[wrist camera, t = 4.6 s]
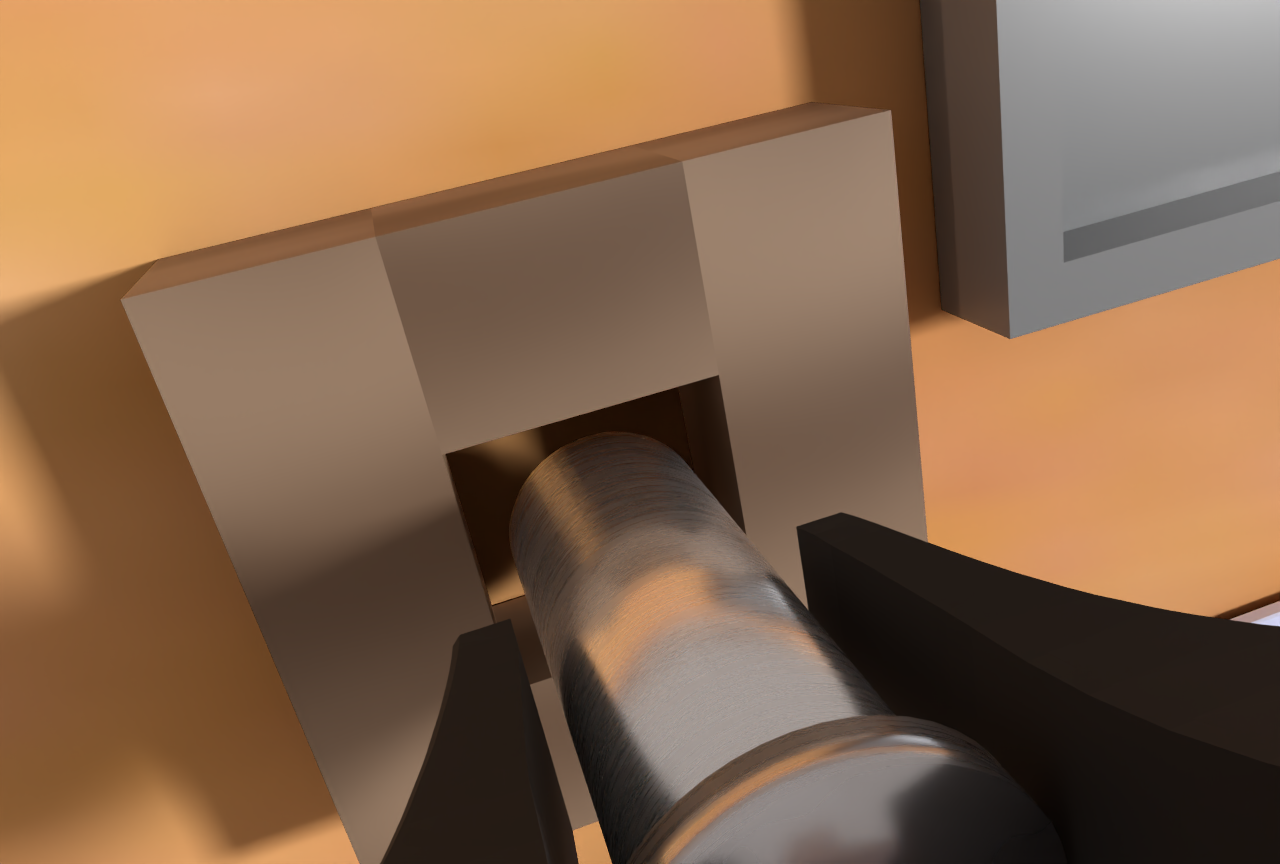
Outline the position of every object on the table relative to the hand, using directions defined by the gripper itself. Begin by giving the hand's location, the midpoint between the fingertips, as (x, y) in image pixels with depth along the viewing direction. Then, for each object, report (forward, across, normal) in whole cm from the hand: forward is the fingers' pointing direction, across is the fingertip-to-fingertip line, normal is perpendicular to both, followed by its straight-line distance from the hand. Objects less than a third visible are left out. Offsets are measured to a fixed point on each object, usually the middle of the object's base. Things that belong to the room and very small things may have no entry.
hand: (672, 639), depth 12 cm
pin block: (+5, 0, 0) cm, 5 cm away
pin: (+3, 0, 0) cm, 3 cm away
